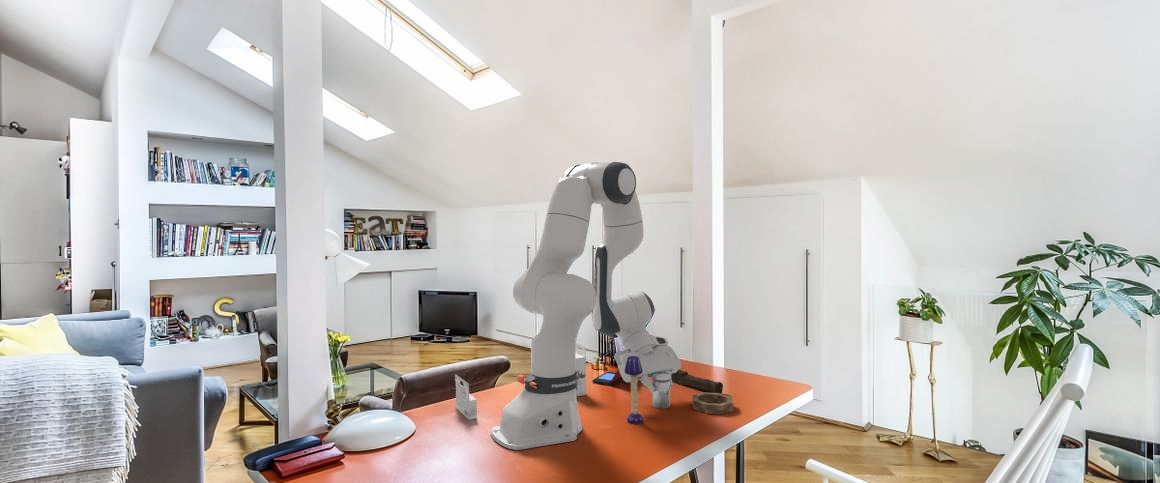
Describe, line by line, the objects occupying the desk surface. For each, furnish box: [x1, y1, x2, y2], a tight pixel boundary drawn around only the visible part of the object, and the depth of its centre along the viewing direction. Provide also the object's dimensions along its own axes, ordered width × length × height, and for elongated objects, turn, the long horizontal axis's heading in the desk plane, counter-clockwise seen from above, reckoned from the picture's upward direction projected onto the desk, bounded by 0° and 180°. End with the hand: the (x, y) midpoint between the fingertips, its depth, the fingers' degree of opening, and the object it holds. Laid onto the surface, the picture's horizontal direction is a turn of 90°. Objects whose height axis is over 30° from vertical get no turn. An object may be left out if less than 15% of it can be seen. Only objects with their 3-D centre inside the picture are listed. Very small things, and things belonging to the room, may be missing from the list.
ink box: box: [575, 342, 587, 398], centre depth 159 cm, size 8×5×15 cm, turn 26°
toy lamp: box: [625, 356, 644, 425], centre depth 135 cm, size 5×5×17 cm
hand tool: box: [671, 369, 724, 394], centre depth 164 cm, size 19×4×5 cm, turn 37°
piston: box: [651, 372, 671, 410], centre depth 147 cm, size 5×5×9 cm
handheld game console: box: [591, 367, 624, 387], centre depth 172 cm, size 12×11×7 cm
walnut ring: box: [692, 391, 734, 415], centre depth 145 cm, size 11×11×2 cm
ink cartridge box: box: [454, 373, 478, 421], centre depth 141 cm, size 2×11×10 cm, turn 32°
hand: (662, 389), depth 146 cm, fingers closed on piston, 5 cm apart
